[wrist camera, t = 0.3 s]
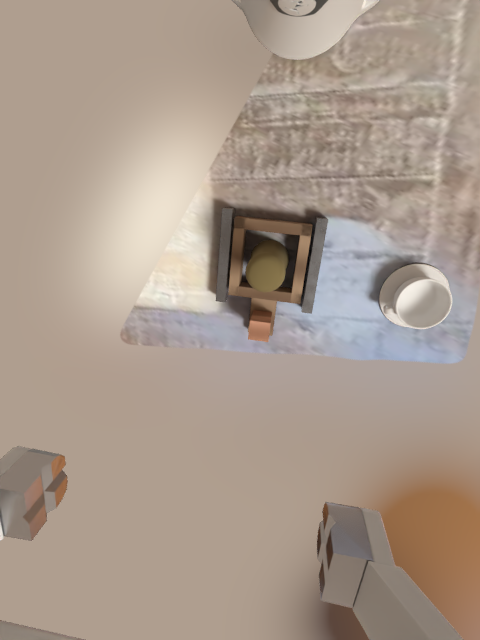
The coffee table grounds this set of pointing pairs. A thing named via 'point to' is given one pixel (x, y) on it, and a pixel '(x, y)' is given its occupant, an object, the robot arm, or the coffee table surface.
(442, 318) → the teacup
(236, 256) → the frame
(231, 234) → the lane rails
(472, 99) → the coffee table surface
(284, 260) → the cork
